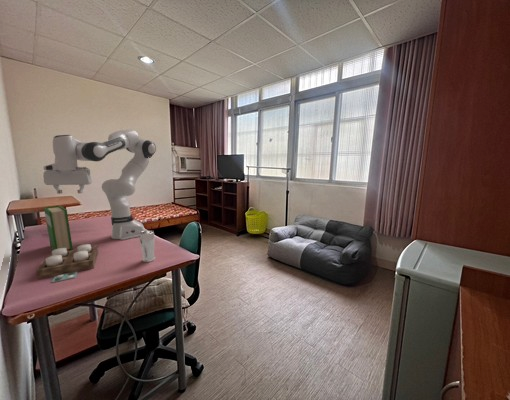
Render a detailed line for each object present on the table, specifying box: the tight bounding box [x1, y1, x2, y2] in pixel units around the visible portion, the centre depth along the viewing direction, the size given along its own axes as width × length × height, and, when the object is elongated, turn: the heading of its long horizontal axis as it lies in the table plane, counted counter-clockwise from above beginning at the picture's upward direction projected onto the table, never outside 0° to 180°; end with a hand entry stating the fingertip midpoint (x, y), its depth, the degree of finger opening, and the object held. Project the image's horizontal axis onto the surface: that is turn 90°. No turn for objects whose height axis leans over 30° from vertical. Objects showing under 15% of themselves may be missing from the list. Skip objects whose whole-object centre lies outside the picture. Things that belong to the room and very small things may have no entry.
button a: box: [76, 243, 92, 253], centre depth 116 cm, size 6×6×3 cm
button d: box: [44, 255, 63, 267], centre depth 102 cm, size 6×6×3 cm
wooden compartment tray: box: [36, 246, 99, 280], centre depth 110 cm, size 20×20×4 cm
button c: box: [73, 251, 89, 262], centre depth 107 cm, size 6×6×3 cm
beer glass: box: [139, 229, 156, 263], centre depth 114 cm, size 7×7×15 cm
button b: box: [51, 248, 68, 257], centre depth 111 cm, size 6×6×3 cm
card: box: [51, 271, 79, 284], centre depth 98 cm, size 8×6×1 cm
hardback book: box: [43, 205, 73, 251], centre depth 129 cm, size 18×7×24 cm, turn 50°
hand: (70, 193), depth 116 cm, fingers open, 8 cm apart
